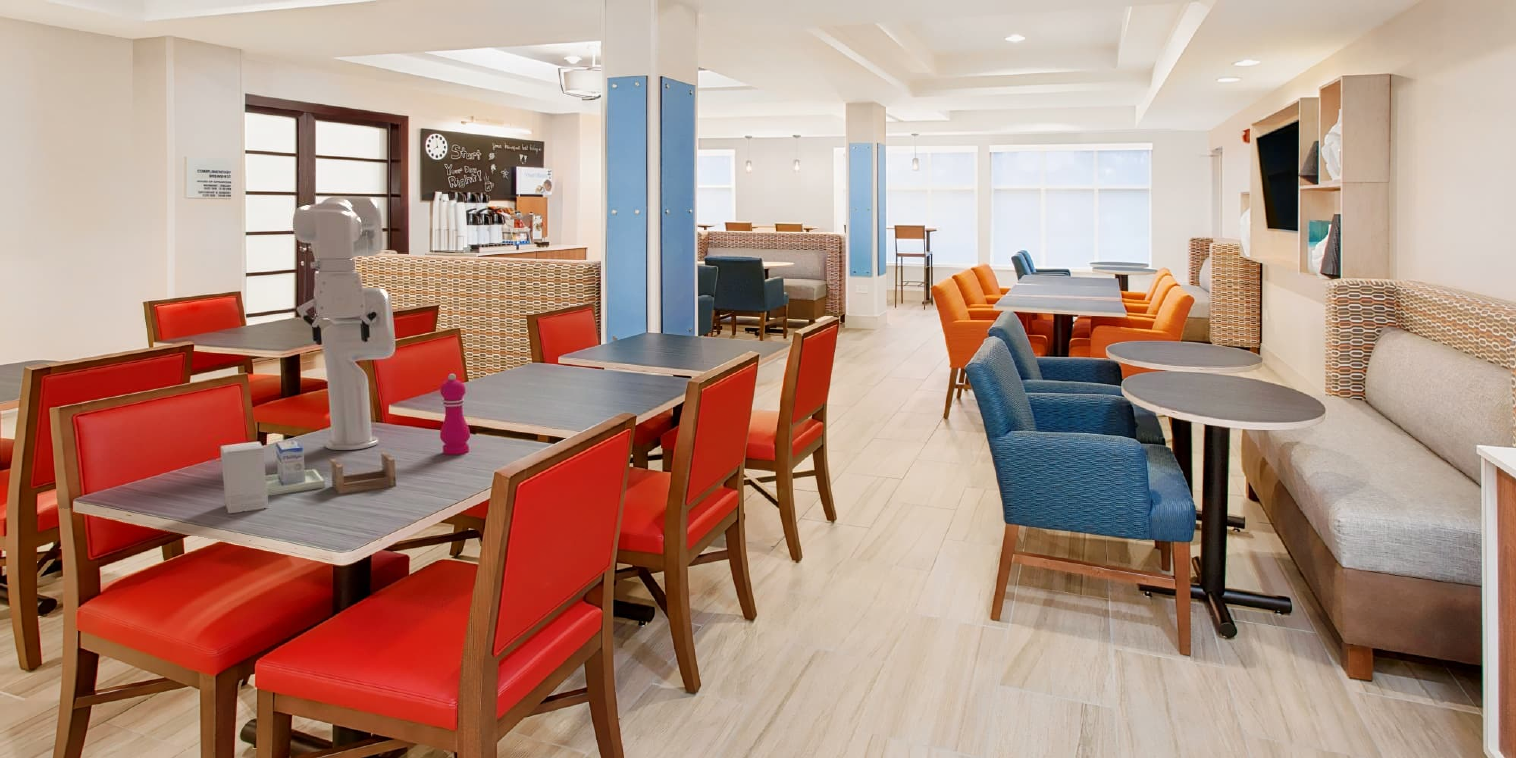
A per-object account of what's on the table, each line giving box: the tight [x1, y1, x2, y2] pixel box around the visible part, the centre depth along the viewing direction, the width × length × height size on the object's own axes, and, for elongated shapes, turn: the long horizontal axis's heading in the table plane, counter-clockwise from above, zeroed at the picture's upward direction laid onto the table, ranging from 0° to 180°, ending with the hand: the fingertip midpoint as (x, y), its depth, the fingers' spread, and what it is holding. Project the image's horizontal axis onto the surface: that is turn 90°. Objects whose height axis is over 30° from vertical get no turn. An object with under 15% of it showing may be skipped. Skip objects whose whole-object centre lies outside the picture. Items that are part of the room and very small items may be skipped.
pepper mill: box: [439, 373, 471, 456], centre depth 235 cm, size 7×7×20 cm
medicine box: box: [275, 440, 306, 486], centre depth 205 cm, size 8×4×9 cm, turn 35°
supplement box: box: [220, 441, 269, 514], centre depth 190 cm, size 7×7×13 cm
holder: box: [329, 451, 397, 495], centre depth 206 cm, size 8×12×6 cm, turn 125°
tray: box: [266, 468, 326, 497], centre depth 206 cm, size 11×11×2 cm
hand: (342, 342), depth 212 cm, fingers open, 9 cm apart
